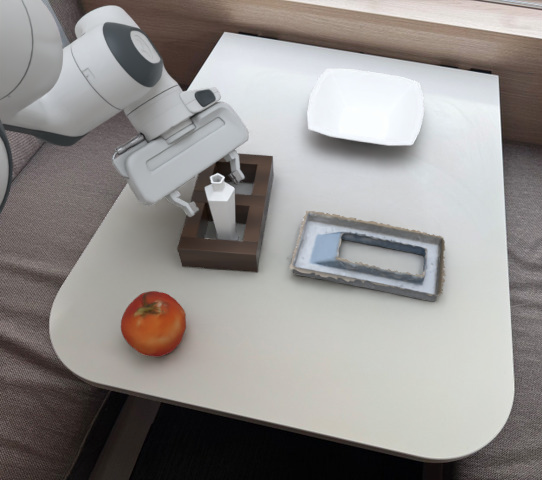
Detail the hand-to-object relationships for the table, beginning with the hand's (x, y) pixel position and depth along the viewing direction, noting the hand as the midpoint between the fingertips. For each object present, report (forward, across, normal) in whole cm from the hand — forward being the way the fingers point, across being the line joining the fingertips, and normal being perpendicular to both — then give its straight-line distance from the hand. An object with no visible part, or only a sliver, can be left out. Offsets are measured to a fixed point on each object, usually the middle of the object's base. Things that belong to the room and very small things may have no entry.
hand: (217, 197), depth 81 cm
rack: (+6, +4, +10) cm, 12 cm away
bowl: (+7, +40, +8) cm, 42 cm away
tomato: (+12, -19, +4) cm, 23 cm away
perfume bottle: (+8, 0, +8) cm, 11 cm away
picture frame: (+23, +13, -7) cm, 27 cm away
